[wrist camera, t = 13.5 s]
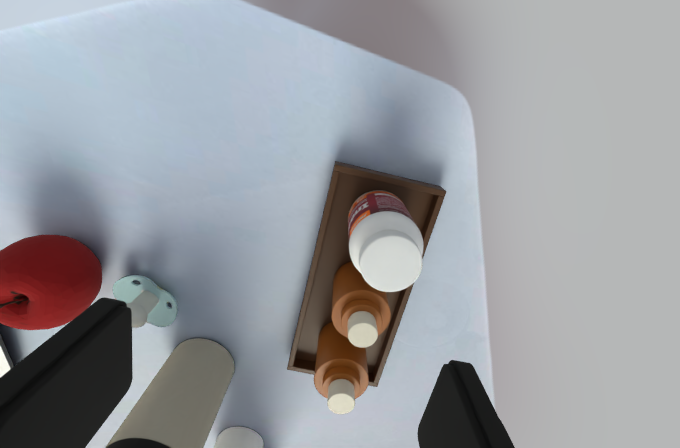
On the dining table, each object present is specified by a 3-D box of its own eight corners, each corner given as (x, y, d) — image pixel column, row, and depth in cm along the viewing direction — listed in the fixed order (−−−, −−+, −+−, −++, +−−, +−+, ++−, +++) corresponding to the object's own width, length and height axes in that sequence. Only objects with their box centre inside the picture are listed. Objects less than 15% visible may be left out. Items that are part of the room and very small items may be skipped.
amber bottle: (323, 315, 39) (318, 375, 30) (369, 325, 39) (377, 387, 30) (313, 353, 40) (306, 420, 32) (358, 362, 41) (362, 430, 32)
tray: (335, 160, 33) (334, 164, 31) (440, 186, 34) (446, 191, 32) (289, 357, 41) (286, 369, 39) (375, 374, 42) (377, 387, 40)
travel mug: (238, 342, 41) (162, 509, 24) (232, 391, 43) (161, 574, 26) (173, 331, 40) (48, 494, 23) (171, 381, 43) (58, 561, 26)
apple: (22, 230, 36) (-92, 273, 26) (100, 218, 35) (12, 258, 26) (58, 302, 39) (-32, 364, 29) (131, 292, 38) (62, 352, 29)
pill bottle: (354, 183, 33) (359, 216, 23) (413, 195, 34) (444, 233, 23) (342, 239, 35) (341, 293, 25) (397, 249, 36) (420, 307, 25)
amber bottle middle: (339, 255, 36) (338, 301, 27) (388, 266, 36) (403, 315, 28) (328, 298, 38) (324, 354, 29) (375, 308, 38) (384, 366, 29)
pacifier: (164, 330, 40) (191, 299, 39) (133, 369, 34) (163, 335, 33) (111, 295, 39) (137, 261, 37) (69, 329, 33) (97, 291, 31)
